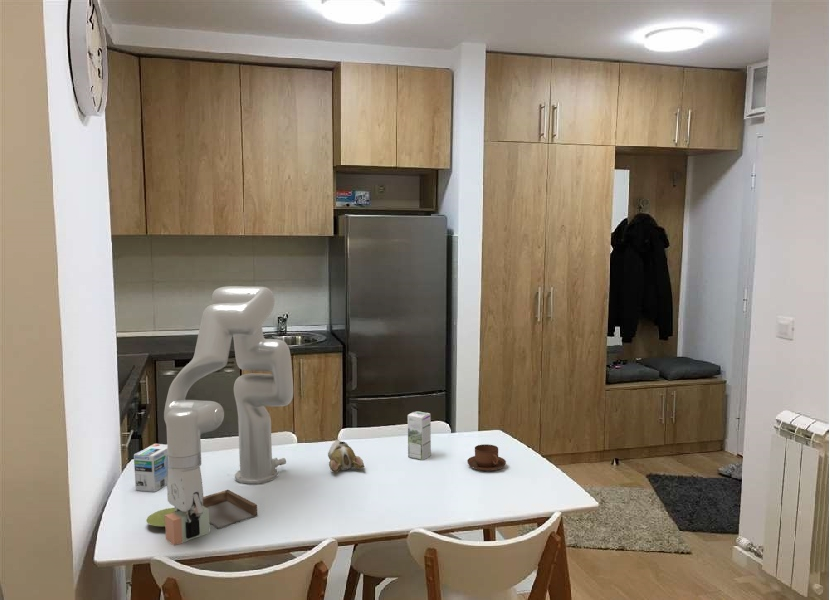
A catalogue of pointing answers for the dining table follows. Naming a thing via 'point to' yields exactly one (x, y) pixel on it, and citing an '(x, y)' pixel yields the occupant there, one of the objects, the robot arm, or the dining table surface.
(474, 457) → the cup and saucer
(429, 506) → the dining table surface
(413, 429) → the syrup box
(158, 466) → the light bulb box
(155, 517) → the green flat disc
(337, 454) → the ceramic sculpture
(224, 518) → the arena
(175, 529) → the peach green box
